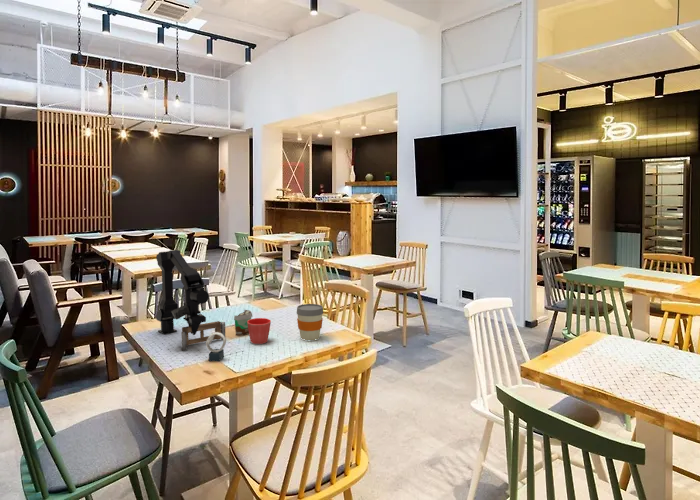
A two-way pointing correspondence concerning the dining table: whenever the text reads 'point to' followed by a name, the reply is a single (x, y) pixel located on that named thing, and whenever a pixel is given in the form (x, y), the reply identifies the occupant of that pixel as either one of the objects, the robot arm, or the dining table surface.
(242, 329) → the food container
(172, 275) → the robot arm
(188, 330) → the wooden frame
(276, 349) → the dining table surface
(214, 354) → the ring on dark base
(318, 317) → the reusable coffee cup
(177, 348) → the dining table surface
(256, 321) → the flower pot
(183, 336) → the grey piece
